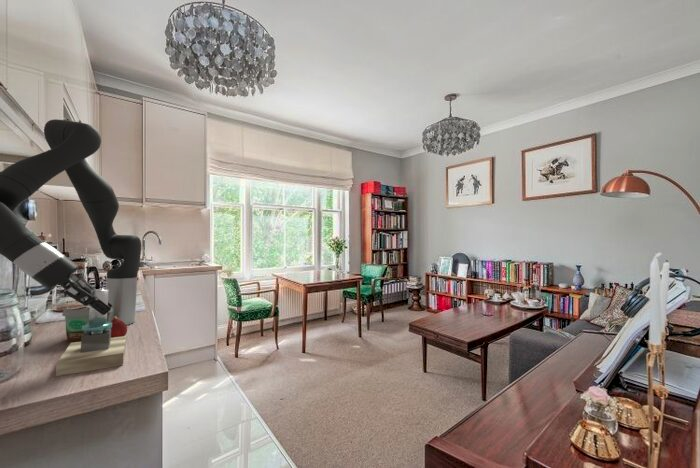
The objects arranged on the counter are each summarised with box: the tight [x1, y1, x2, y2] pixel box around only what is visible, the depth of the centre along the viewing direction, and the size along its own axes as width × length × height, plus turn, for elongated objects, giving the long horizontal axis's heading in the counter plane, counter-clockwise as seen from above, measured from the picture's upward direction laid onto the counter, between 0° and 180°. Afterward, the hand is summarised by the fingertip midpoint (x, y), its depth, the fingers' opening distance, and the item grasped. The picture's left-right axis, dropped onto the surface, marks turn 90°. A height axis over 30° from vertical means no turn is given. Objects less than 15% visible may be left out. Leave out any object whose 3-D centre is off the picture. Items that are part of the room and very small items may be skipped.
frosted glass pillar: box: [82, 288, 112, 334], centre depth 77 cm, size 6×6×15 cm
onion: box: [111, 316, 128, 338], centre depth 89 cm, size 6×6×8 cm
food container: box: [61, 306, 113, 343], centre depth 91 cm, size 12×6×10 cm, turn 114°
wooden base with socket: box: [55, 328, 127, 377], centre depth 76 cm, size 16×12×7 cm
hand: (108, 310), depth 78 cm, fingers closed on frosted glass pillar, 3 cm apart
